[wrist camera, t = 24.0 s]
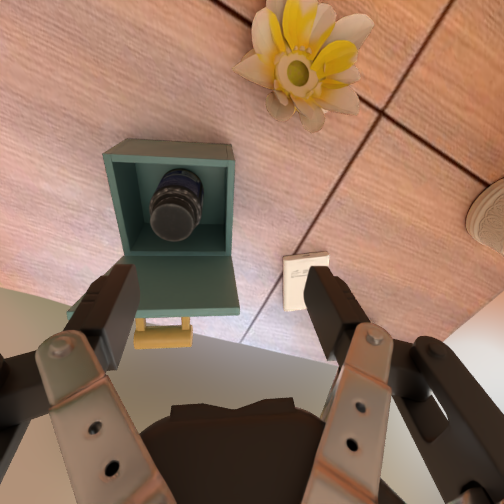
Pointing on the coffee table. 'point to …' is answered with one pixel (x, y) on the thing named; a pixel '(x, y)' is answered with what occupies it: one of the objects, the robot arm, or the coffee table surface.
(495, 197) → the jar
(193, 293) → the lid
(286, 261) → the hard drive
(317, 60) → the decorative flower
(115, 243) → the coffee table surface
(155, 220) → the pill bottle
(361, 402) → the robot arm
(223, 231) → the chest
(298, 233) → the coffee table surface
